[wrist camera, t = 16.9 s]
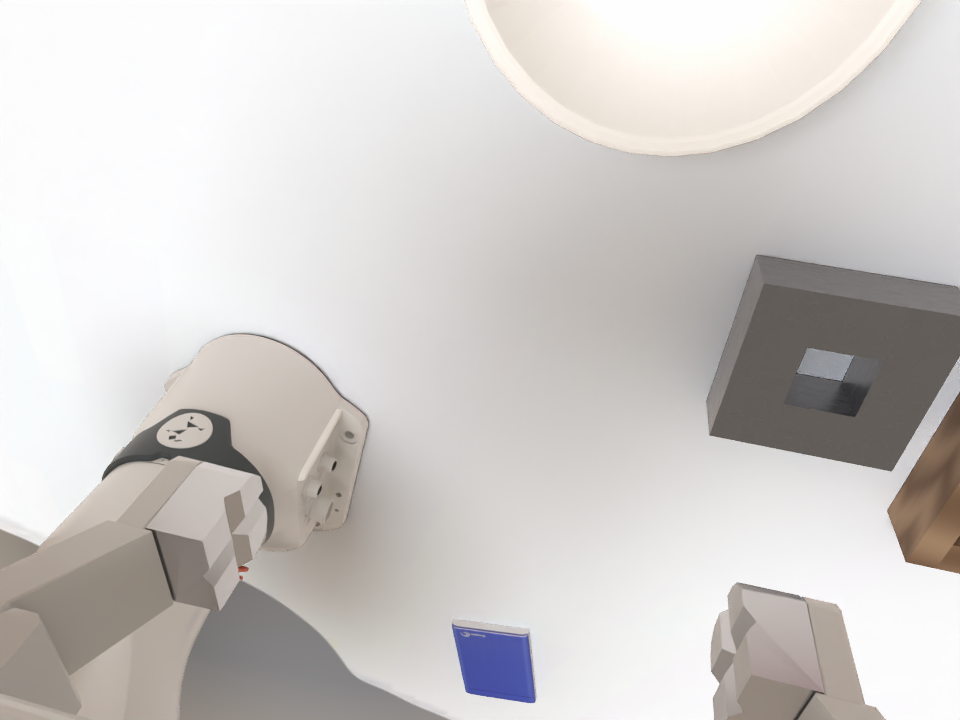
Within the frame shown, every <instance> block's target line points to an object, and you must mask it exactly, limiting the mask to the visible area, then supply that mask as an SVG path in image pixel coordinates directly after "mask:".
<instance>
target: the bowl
mask: <svg viewBox="0 0 960 720" xmlns="http://www.w3.org/2000/svg"><path fill="white" fill-rule="evenodd" d="M464 1H465V4H466V6H467V9H468V12H469V15H470V18H471V21H472V24H473V26H474V27H475V29H476V31H477V33H478V35H479V36H480V38H481V40H482V42H483V44H484V46H485V47H486V49H487V51H488V53H489V55H490V56H491V58H492V60H493V62H494V63H495V65H496V66H497V67H498V68H499V70H500V71H501V72H502V73H503V74H504V76H505V77H506V78H507V79H508V80H509V82H510V83H511V84H512V85H513V87H514V88H515V89H516V90H517V91H518V93H519V94H520V95H521V96H522V97H523V98H524V99H526V100H527V101H528V102H529V103H530V104H532V105H533V106H534V107H535V108H536V109H538V110H539V111H540V112H541V113H543V114H544V115H545V116H546V117H547V118H549V119H550V120H551V121H552V122H554V123H556V124H557V125H559V126H561V127H563V128H565V129H567V130H569V131H571V132H572V133H574V134H576V135H578V136H580V137H582V138H584V139H586V140H587V141H590V142H593V143H596V144H600V145H603V146H606V147H610V148H613V149H617V150H620V151H623V152H627V153H635V154H646V155H656V156H667V157H671V156H681V155H692V154H702V153H712V152H716V151H719V150H723V149H726V148H730V147H733V146H737V145H740V144H744V143H748V142H751V141H755V140H757V139H759V138H761V137H764V136H766V135H768V134H770V133H772V132H774V131H776V130H778V129H780V128H782V127H784V126H787V125H789V124H791V123H793V122H795V121H797V120H799V119H801V118H802V117H804V116H805V115H807V114H808V113H810V112H811V111H812V110H814V109H815V108H817V107H818V106H820V105H821V104H822V103H824V102H825V101H827V100H828V99H830V98H831V97H833V96H834V95H835V94H837V93H838V92H840V91H841V90H843V89H844V88H845V87H846V86H847V85H848V84H849V83H850V82H851V81H852V80H853V79H854V78H855V77H856V76H857V75H858V74H860V73H861V72H862V71H863V70H864V69H865V68H866V67H867V66H868V65H869V64H870V63H871V62H872V61H873V60H874V59H875V58H876V57H877V56H878V55H879V54H880V53H881V52H883V51H884V49H885V48H886V47H887V46H888V44H889V43H890V42H891V40H892V39H893V38H894V36H895V35H896V34H897V33H898V31H899V30H900V29H901V27H902V26H903V25H904V23H905V22H906V21H907V20H908V18H909V17H910V16H911V14H912V13H913V12H914V10H915V9H916V8H917V7H918V5H919V4H920V3H921V1H922V0H464Z"/></svg>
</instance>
